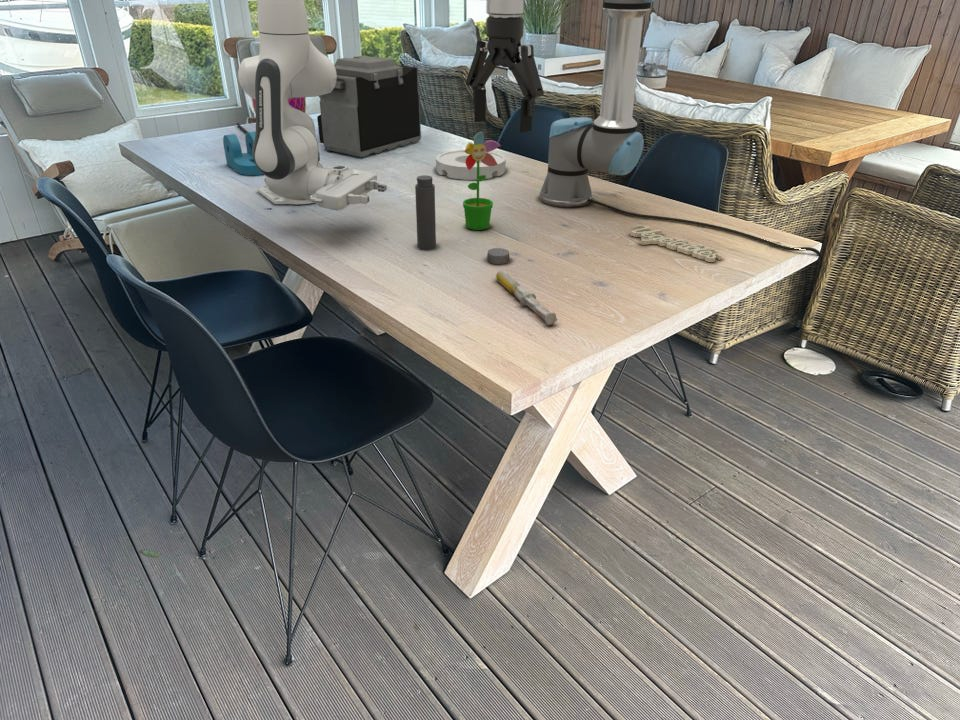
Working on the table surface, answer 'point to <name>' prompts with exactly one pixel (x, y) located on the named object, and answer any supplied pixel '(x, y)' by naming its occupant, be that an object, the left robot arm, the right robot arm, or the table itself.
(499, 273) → the syringe
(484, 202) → the potted flower
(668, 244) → the decorative sign
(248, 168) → the camera mount
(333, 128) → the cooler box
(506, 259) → the lid
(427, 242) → the bottle
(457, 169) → the ashtray
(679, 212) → the table surface
